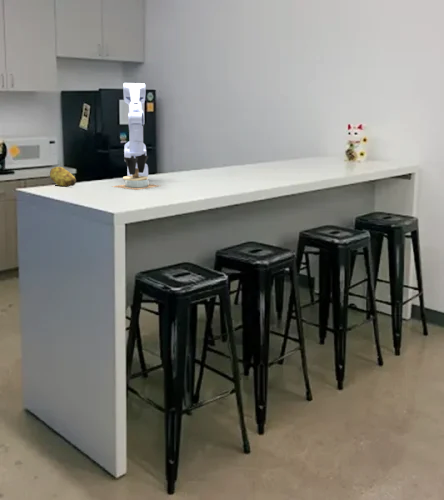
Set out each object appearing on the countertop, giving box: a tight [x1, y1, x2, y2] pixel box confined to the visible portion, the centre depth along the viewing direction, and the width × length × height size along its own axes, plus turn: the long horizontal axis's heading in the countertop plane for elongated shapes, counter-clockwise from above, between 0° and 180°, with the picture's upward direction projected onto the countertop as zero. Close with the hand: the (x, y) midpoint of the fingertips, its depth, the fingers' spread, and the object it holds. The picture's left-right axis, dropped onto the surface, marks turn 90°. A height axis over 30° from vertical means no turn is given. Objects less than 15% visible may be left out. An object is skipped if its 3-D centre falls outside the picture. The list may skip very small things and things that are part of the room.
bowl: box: [124, 179, 149, 188], centre depth 267 cm, size 10×10×3 cm
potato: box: [49, 166, 77, 187], centre depth 269 cm, size 8×13×8 cm, turn 37°
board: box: [111, 183, 160, 191], centre depth 268 cm, size 16×14×1 cm
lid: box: [122, 168, 149, 181], centre depth 267 cm, size 10×10×4 cm
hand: (136, 173), depth 267 cm, fingers open, 7 cm apart
